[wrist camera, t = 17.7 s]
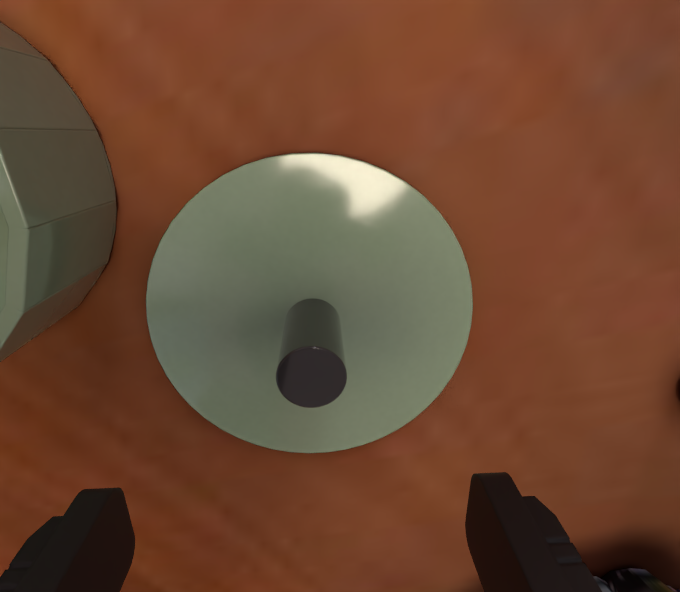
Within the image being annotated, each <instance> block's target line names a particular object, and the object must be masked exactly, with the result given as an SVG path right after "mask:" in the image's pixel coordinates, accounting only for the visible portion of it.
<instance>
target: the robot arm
mask: <svg viewBox="0 0 680 592" xmlns="http://www.w3.org/2000/svg"><path fill="white" fill-rule="evenodd" d="M465 527H466V537H467V542H468V547H469V550H470V553H471V556H472V559H473V562H474V564H475V567H476V570H477V573H478V575H479V578H480V581H481V584H482V587H483V589H484V592H602V590H601V589H600V587H599V586H598V584H597V582H596V581H595V579H594V577H593V576H592V574H591V573H590V571H589V569H588V568H587V566H586V564H585V563H583V562H582V560H581V556H580V555H579V553H578V551H577V550H576V548H575V547H574V545H573V543H570V540H569V537H568V535H567V534H566V532H565V530H564V529H563V527H562V525H561V524H560V522H559V521H558V519H557V517H556V516H555V515H554V514H553V513H552V512H551V511H550V510H549V509H548V508H547V507H546V506H545V505H543V504H542V503H541V502H540V501H539V500H538V499H537V498H536V497H535V496H525V497H522V496H521V494H520V492H519V491H518V489H517V487H516V485H515V483H514V482H513V480H512V478H511V477H510V475H509V474H508V473H506V472H502V473H479V474H473V475H472V478H471V484H470V491H469V499H468V506H467V513H466V522H465ZM134 549H135V536H134V531H133V527H132V524H131V520H130V516H129V512H128V508H127V504H126V500H125V496H124V493H123V491H122V489H121V488H101V489H84V490H82V491H81V492H79V493H78V495H77V496H76V497H75V499H74V500H73V502H72V503H71V505H70V506H69V508H68V509H67V511H66V512H65V514H64V516H55V517H52V518H51V519H50V520H49V521H47V522H46V523H45V524H44V525H43V526H42V527H41V528H39V529H38V530H37V531H36V532H35V533H34V534H33V535H31V536H30V537H29V538H28V539H27V541H26V542H25V543H24V545H23V546H22V548H21V549H20V550H19V552H18V553H17V555H16V556H15V557H14V559H13V560H12V562H11V563H10V564H9V565H10V567H9V569H8V570H5V571H4V573H3V574H2V576H1V577H0V592H120V589H121V587H122V585H123V582H124V580H125V578H126V575H127V573H128V571H129V568H130V566H131V563H132V559H133V555H134Z"/></svg>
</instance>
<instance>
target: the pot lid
mask: <svg viewBox="0 0 680 592" xmlns="http://www.w3.org/2000/svg"><path fill="white" fill-rule="evenodd" d="M472 309H473V300H472V285H471V280H470V275H469V269H468V266H467V263H466V260H465V257H464V254H463V251H462V248H461V246H460V244H459V242H458V240H457V239H456V237H455V235H454V233H453V231H452V229H451V228H450V226H449V225H448V223H447V222H446V221H445V219H444V218H443V216H442V215H441V214H440V212H439V211H438V210H437V209H436V208H435V207H434V206H433V205H432V204H431V203H430V202H429V201H428V200H427V199H426V198H425V197H424V196H423V195H422V194H421V193H420V192H418V191H417V190H416V189H414V188H413V187H412V186H411V185H409V184H408V183H407V182H405V181H404V180H402V179H400V178H398V177H397V176H395V175H393V174H391V173H390V172H388V171H386V170H384V169H382V168H379V167H377V166H375V165H372V164H370V163H367V162H365V161H362V160H358V159H354V158H350V157H346V156H342V155H335V154H326V153H317V152H312V153H289V154H284V155H278V156H272V157H267V158H264V159H261V160H257V161H254V162H251V163H248V164H245V165H243V166H241V167H239V168H237V169H235V170H232V171H230V172H228V173H226V174H224V175H222V176H221V177H219V178H218V179H216V180H215V181H213V182H212V183H210V184H209V185H207V186H206V187H204V188H203V189H202V190H201V191H200V192H199V193H197V194H196V195H195V196H194V197H193V198H192V199H191V200H190V201H189V202H187V203H186V204H185V206H184V207H183V208H182V209H181V211H180V212H179V213H178V214H177V215H176V217H175V218H174V219H173V220H172V222H171V223H170V225H169V227H168V228H167V230H166V232H165V233H164V235H163V237H162V238H161V240H160V243H159V245H158V248H157V250H156V253H155V255H154V257H153V260H152V264H151V268H150V272H149V276H148V282H147V293H146V311H147V323H148V328H149V333H150V337H151V341H152V344H153V347H154V350H155V353H156V355H157V358H158V360H159V362H160V364H161V366H162V368H163V370H164V372H165V374H166V376H167V377H168V379H169V380H170V381H171V383H172V384H173V386H174V387H175V389H176V390H177V391H178V393H179V394H180V395H181V396H182V397H183V398H184V399H185V400H186V401H187V403H188V404H189V405H190V406H191V407H192V408H194V409H195V410H196V411H197V412H198V413H199V414H201V415H202V416H203V417H204V418H205V419H207V420H208V421H210V422H211V423H213V424H214V425H216V426H217V427H219V428H220V429H222V430H224V431H226V432H227V433H229V434H231V435H233V436H235V437H237V438H240V439H242V440H245V441H247V442H250V443H252V444H255V445H259V446H263V447H266V448H270V449H274V450H281V451H287V452H297V453H322V452H333V451H339V450H345V449H350V448H353V447H357V446H361V445H364V444H367V443H370V442H372V441H375V440H377V439H380V438H382V437H384V436H386V435H388V434H390V433H392V432H394V431H396V430H398V429H399V428H401V427H402V426H404V425H405V424H407V423H408V422H410V421H411V420H413V419H414V418H415V417H416V416H418V415H419V414H420V413H421V412H422V411H423V410H425V409H426V408H427V407H428V406H429V405H430V404H431V403H432V402H433V401H434V399H435V398H436V397H437V396H438V395H439V394H440V393H441V392H442V390H443V389H444V387H445V386H446V385H447V383H448V382H449V380H450V379H451V377H452V376H453V374H454V372H455V370H456V368H457V366H458V364H459V363H460V360H461V358H462V355H463V352H464V350H465V347H466V345H467V340H468V336H469V332H470V328H471V320H472Z"/></svg>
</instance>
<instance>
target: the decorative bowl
mask: <svg viewBox="0 0 680 592" xmlns="http://www.w3.org/2000/svg"><path fill="white" fill-rule="evenodd" d="M593 577H594V579H595V581H596V582H597V584H598V586H599V587H600V589H601V590H602V592H680V590H678V589H677V590H675V589H673V588H672V587H671V586H667V585H665V584H664V583H663V582H661V581H660V580H659V579H657V578H656V577H655V576H653V575H652V574H651V573H649V572H648V571H647V570H645V569H634V568H628V569H622V570H616V571H610V572H609V573H608V574H607V575H605V576H604V577H603V578H602V579H600V578H598V577H597V576H593Z"/></svg>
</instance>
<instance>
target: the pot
mask: <svg viewBox="0 0 680 592" xmlns="http://www.w3.org/2000/svg"><path fill="white" fill-rule="evenodd" d="M116 212H117V208H116V196H115V186H114V181H113V177H112V172H111V167H110V164H109V161H108V158H107V155H106V152H105V149H104V146H103V143H102V141H101V139H100V137H99V135H98V132H97V130H96V128H95V126H94V124H93V122H92V120H91V118H90V116H89V115H88V113H87V112H86V110H85V108H84V107H83V105H82V103H81V102H80V100H79V99H78V97H77V96H76V94H75V93H74V92H73V90H72V89H71V88H70V86H69V85H68V84H67V83H66V81H65V80H64V79H63V77H62V76H61V75H60V74H59V73H58V72H57V70H56V69H55V68H54V67H53V66H52V64H51V63H50V62H49V61H48V59H47V58H45V57H44V56H43V55H42V54H40V53H39V52H38V51H37V50H36V49H35V48H33V47H32V46H31V45H30V44H29V43H28V42H26V41H25V40H24V39H23V38H22V37H21V36H20V35H18V34H17V33H16V32H14V31H13V30H11V29H10V28H8V27H7V26H5V25H4V24H3V23H1V22H0V362H1V361H3V360H4V359H5V358H7V357H8V356H10V355H11V354H12V353H14V352H15V351H17V350H18V349H19V348H21V347H22V346H23V345H25V344H26V343H28V342H29V341H30V340H32V339H33V338H35V337H36V336H37V335H39V334H40V333H42V332H43V331H44V330H46V329H47V328H49V327H50V326H51V325H53V324H54V323H56V322H57V321H58V320H60V319H61V318H62V317H64V316H65V315H67V314H68V313H69V312H71V311H72V310H74V309H75V308H76V307H77V306H79V304H80V303H81V301H82V300H83V299H84V297H85V296H86V294H87V293H88V292H89V291H90V289H91V288H92V287H93V286H94V284H95V283H96V282H97V280H98V278H99V276H100V275H101V273H102V271H103V269H104V268H105V266H106V265H107V263H108V260H109V255H110V252H111V249H112V244H113V240H114V235H115V229H116Z"/></svg>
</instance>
